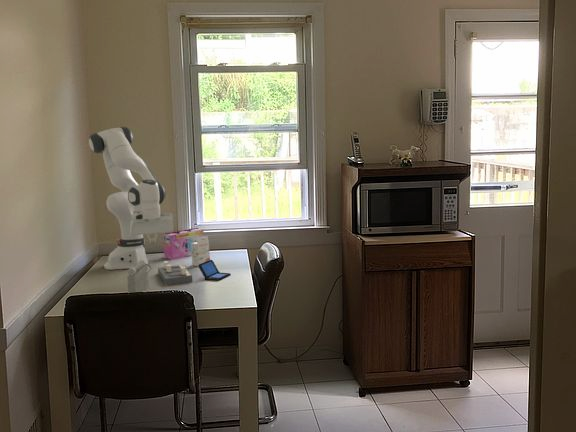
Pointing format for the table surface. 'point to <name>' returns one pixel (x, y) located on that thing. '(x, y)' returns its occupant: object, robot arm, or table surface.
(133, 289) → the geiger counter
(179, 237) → the gum box
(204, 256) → the ink cartridge box
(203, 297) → the table surface
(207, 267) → the handheld game console
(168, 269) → the switch tab
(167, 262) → the switch tab
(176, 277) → the switch panel
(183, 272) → the switch tab
